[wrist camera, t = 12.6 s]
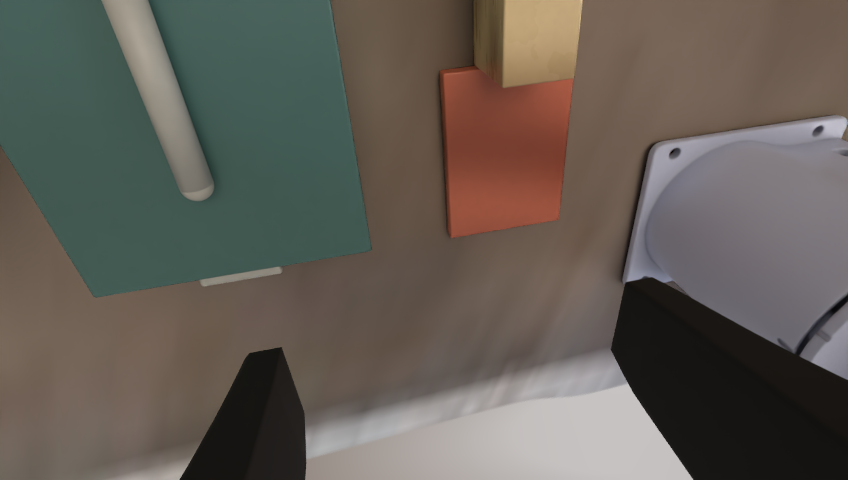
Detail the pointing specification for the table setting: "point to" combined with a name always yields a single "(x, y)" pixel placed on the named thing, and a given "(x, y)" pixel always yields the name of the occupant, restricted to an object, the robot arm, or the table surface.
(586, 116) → the table surface
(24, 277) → the table surface
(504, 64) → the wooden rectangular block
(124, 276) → the tiffin box
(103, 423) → the table surface
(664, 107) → the table surface
